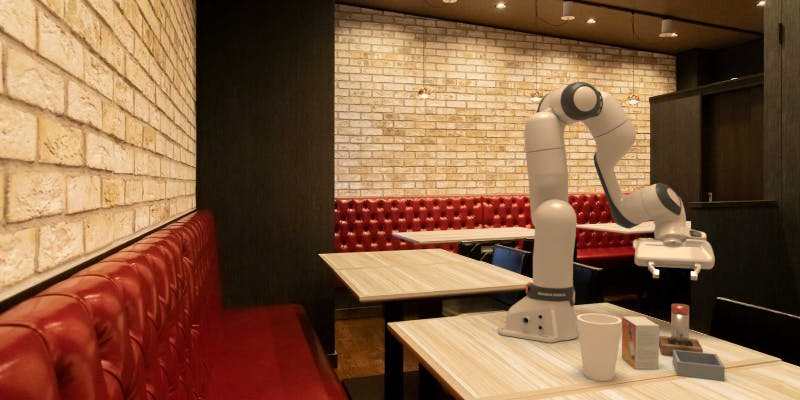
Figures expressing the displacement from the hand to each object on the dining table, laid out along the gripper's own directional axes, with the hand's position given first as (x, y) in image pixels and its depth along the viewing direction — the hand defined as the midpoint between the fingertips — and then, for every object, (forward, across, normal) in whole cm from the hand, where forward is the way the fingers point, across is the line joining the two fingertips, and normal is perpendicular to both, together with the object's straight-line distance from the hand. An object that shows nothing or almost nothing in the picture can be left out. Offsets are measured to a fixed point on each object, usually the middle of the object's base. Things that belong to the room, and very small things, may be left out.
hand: (674, 277), depth 144 cm
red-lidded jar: (+21, 0, +4) cm, 21 cm away
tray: (+30, +2, -6) cm, 31 cm away
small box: (+30, -10, -6) cm, 32 cm away
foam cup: (+38, -19, -14) cm, 45 cm away
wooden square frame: (+21, 0, +4) cm, 21 cm away
